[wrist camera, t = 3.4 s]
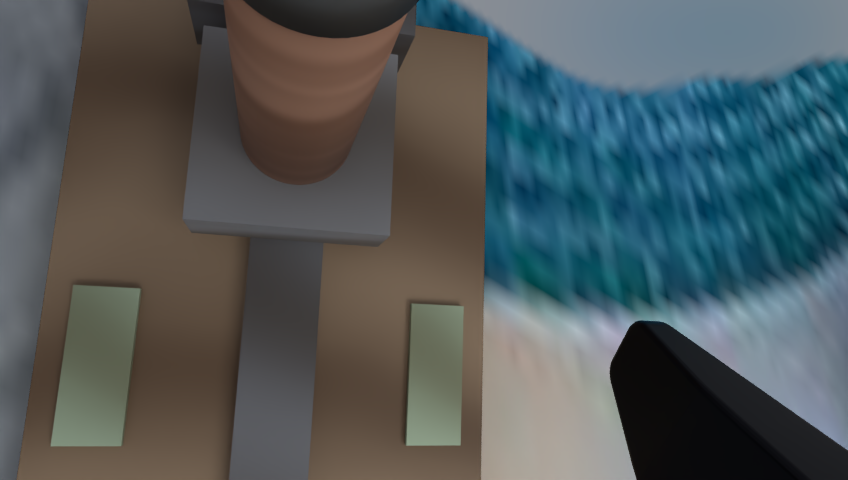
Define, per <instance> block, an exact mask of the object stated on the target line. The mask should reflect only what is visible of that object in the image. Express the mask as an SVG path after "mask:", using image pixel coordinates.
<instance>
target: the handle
mask: <svg viewBox="0 0 848 480" xmlns="http://www.w3.org/2000/svg"><path fill="white" fill-rule="evenodd" d="M418 1H419V0H223V2H224V10H225V17H226V25H227V29H225V28H219V27H212V26H206V25H204V27H203V36H202V45H201V54H200V63H199V72H198V82H197V91H196V100H195V109H194V118H193V127H192V136H191V145H190V154H189V163H188V172H187V181H186V190H185V199H184V208H183V217H182V219H183V221H184V222H185V224H186V225H187V227H188V228H189V230H190V231H191V233H200V234H213V235H227V236H240V237H253V238H266V239H279V240H292V241H305V242H318V243H331V244H344V245H357V246H370V247H378V246H379V245H380V244H382V243H383V242H384V241H385V240H386V239H387V238H388V237H389V236H390V222H391V200H392V178H393V156H394V134H395V112H396V90H397V68H398V55H395V54H391V52H392V49H393V47H394V44H395V42H396V40H397V37H398V35H399V32H400V30H401V28H402V25H403V23H404V20H405V18H406V16H407V13H408V12H409V11H410V10H411V9H412V8H413V7H414V5H415V4H416V3H417V2H418Z"/></svg>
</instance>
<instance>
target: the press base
mask: <svg viewBox="0 0 848 480" xmlns="http://www.w3.org/2000/svg"><path fill="white" fill-rule="evenodd" d="M416 4H417V3H416ZM416 4H415V5H414V7H413V8H412V9H411V10H410V11H409V12H408V13H407V16H406V18H405V20H404V23H403V25H402V28H401V30H400V32H399V35H398V37H397V40H396V42H395V44H394V47H393V49H392V52H391V54H395V55H398V68H397V90H396V112H395V134H394V156H393V178H392V200H391V222H390V236H389V237H388V238H387V239H386V240H385V241H384V242H383V243H382V244H380V245H379V246H378V247H370V246H357V245H344V244H331V243H318V242H305V241H292V240H279V239H266V238H253V237H240V236H227V235H213V234H200V233H191V231H190V230H189V228H188V227H187V225H186V224H185V222H184V221H183V219H182V217H183V208H184V199H185V190H186V181H187V172H188V163H189V154H190V145H191V136H192V127H193V118H194V109H195V100H196V91H197V82H198V72H199V63H200V54H201V45H202V36H203V27H204V25H206V26H212V27H219V28H225V29H227V25H226V17H225V10H224V2H223V0H88V7H87V14H86V20H85V27H84V34H83V40H82V47H81V54H80V60H79V67H78V74H77V80H76V87H75V94H74V100H73V107H72V114H71V120H70V127H69V134H68V140H67V147H66V153H65V160H64V167H63V173H62V180H61V187H60V193H59V200H58V207H57V213H56V220H55V227H54V233H53V240H52V247H51V253H50V260H49V267H48V273H47V280H46V287H45V293H44V300H43V307H42V313H41V320H40V327H39V333H38V340H37V347H36V353H35V360H34V367H33V373H32V380H31V387H30V393H29V400H28V407H27V413H26V420H25V427H24V433H23V440H22V447H21V453H20V460H19V467H18V473H17V480H481V429H482V367H483V304H484V242H485V180H486V117H487V55H488V37H483V36H477V35H471V34H465V33H459V32H453V31H447V30H441V29H435V28H429V27H423V26H417V25H416Z"/></svg>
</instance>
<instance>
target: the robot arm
mask: <svg viewBox="0 0 848 480" xmlns="http://www.w3.org/2000/svg"><path fill="white" fill-rule="evenodd" d="M610 380H611V384H612V388H613V392H614V396H615V400H616V403H617V407H618V411H619V415H620V419H621V423H622V427H623V431H624V434H625V438H626V442H627V446H628V450H629V454H630V458H631V461H632V465H633V469H634V472H635V476H636V479H637V480H848V450H846V449H845V448H843V447H842V446H841V445H839V444H838V443H836V442H835V441H833V440H832V439H831V438H829V437H828V436H826V435H825V434H824V433H822V432H821V431H819V430H818V429H816V428H815V427H814V426H812V425H811V424H809V423H808V422H806V421H805V420H804V419H802V418H801V417H799V416H798V415H796V414H795V413H794V412H792V411H791V410H789V409H788V408H786V407H785V406H784V405H782V404H781V403H779V402H778V401H777V400H775V399H774V398H772V397H771V396H769V395H768V394H767V393H765V392H764V391H762V390H761V389H759V388H758V387H757V386H755V385H754V384H752V383H751V382H749V381H748V380H747V379H745V378H744V377H742V376H741V375H739V374H738V373H737V372H735V371H734V370H732V369H731V368H729V367H728V366H727V365H725V364H724V363H722V362H721V361H720V360H718V359H717V358H715V357H714V356H712V355H711V354H710V353H708V352H707V351H705V350H704V349H702V348H701V347H700V346H698V345H697V344H695V343H694V342H692V341H691V340H690V339H688V338H687V337H685V336H684V335H682V334H681V333H680V332H678V331H677V330H675V329H674V328H673V327H671V326H670V325H668V324H666V323H664V322H658V321H636V322H635V323H633V324H632V325H631V326H630V327H629V329H628V331H627V333H626V335H625V337H624V339H623V340H622V342H621V344H620V346H619V348H618V350H617V352H616V354H615V356H614V357H613V359H612V362H611V366H610Z"/></svg>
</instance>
